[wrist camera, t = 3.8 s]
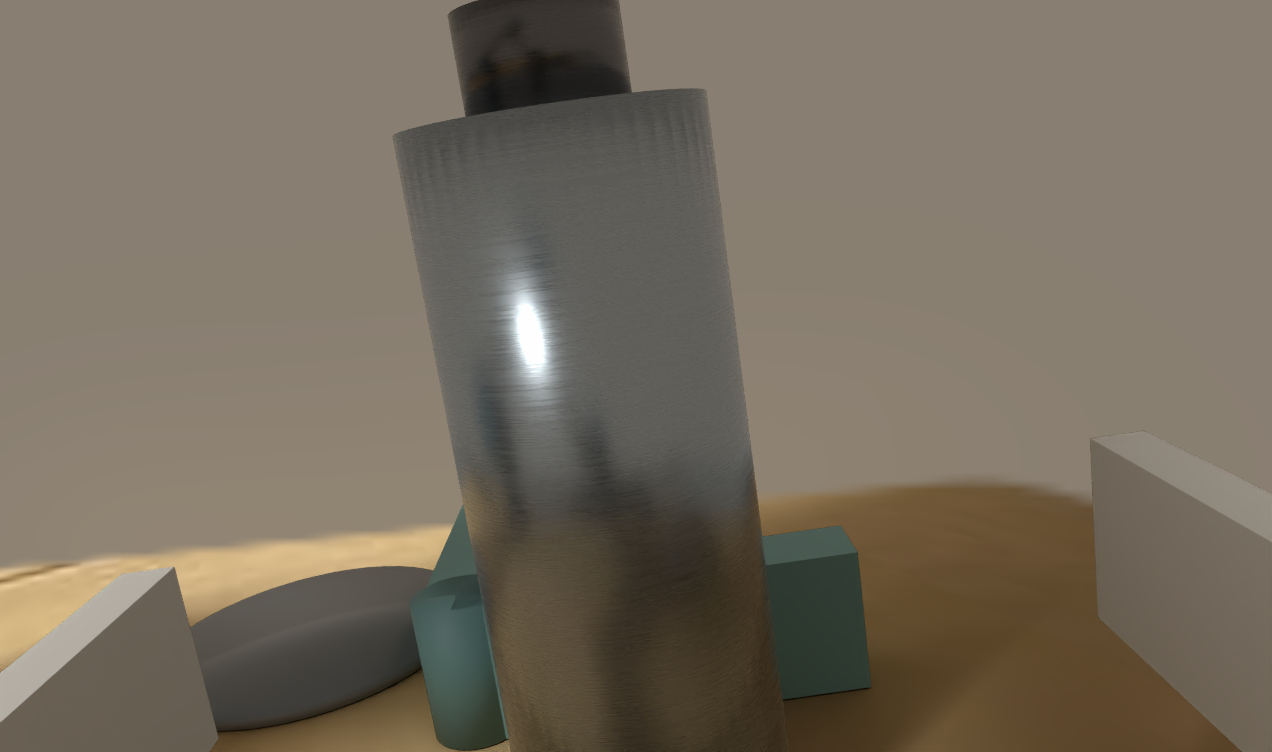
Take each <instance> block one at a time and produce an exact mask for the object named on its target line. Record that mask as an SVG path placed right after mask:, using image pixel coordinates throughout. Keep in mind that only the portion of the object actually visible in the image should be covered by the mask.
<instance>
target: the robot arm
mask: <svg viewBox="0 0 1272 752" xmlns="http://www.w3.org/2000/svg"><path fill="white" fill-rule="evenodd" d="M1090 448H1091V449H1090V450H1091V471H1092V472H1091V473H1092V495H1093V518H1094V540H1095V563H1096V585H1097V607H1098V618H1099V619H1100V620H1101V621H1102V622H1103V623H1105V624H1106V625H1107V626H1108V627H1109V628H1110V629H1111V630H1112V631H1113V632H1114V633H1115V634H1116V635H1117V636H1118V637H1120V638H1121V639H1122V640H1123V641H1124V642H1125V643H1126V644H1127V645H1128V646H1129V647H1130V648H1131V649H1132V650H1133V651H1135V652H1136V653H1137V654H1138V655H1139V656H1140V657H1141V658H1142V659H1143V660H1144V661H1145V662H1146V663H1147V664H1148V665H1149V666H1151V667H1152V668H1153V669H1154V670H1155V671H1156V672H1157V673H1158V674H1159V675H1160V676H1161V677H1162V678H1163V679H1164V680H1166V681H1167V682H1168V683H1169V684H1170V685H1171V686H1172V687H1173V688H1174V689H1175V690H1176V691H1177V692H1178V693H1179V694H1181V695H1182V696H1183V697H1184V698H1185V699H1186V700H1187V701H1188V702H1189V703H1190V704H1191V705H1192V706H1193V707H1194V708H1195V709H1197V710H1198V711H1199V712H1200V713H1201V714H1202V715H1203V716H1204V717H1205V718H1206V719H1207V720H1208V721H1209V722H1210V723H1212V724H1213V725H1214V726H1215V727H1216V728H1217V729H1218V730H1219V731H1220V732H1221V733H1222V734H1223V735H1224V736H1225V737H1227V738H1228V739H1229V740H1230V741H1231V742H1232V743H1233V744H1234V745H1235V746H1236V747H1237V748H1238V749H1239V750H1240V751H1241V752H1272V494H1270V493H1268V492H1266V491H1264V490H1262V489H1260V488H1258V487H1256V486H1254V485H1252V484H1250V483H1248V482H1246V481H1244V480H1242V479H1240V478H1238V477H1236V476H1234V475H1232V474H1230V473H1228V472H1226V471H1224V470H1222V469H1220V468H1218V467H1216V466H1214V465H1212V464H1210V463H1208V462H1206V461H1204V460H1202V459H1200V458H1198V457H1196V456H1194V455H1192V454H1190V453H1188V452H1186V451H1184V450H1182V449H1180V448H1178V447H1176V446H1174V445H1172V444H1169V443H1168V442H1166V441H1164V440H1162V439H1160V438H1158V437H1155V436H1154V435H1152V434H1150V433H1148V432H1146V431H1139V432H1131V433H1124V434H1117V435H1110V436H1103V437H1095V438H1090ZM218 739H219V738H218V734H217V730H216V726H215V723H214V719H213V715H212V711H211V707H210V703H209V699H208V695H207V691H206V688H205V684H204V680H203V676H202V672H201V668H200V664H199V660H198V657H197V653H196V649H195V645H194V641H193V637H192V633H191V629H190V626H189V622H188V618H187V614H186V610H185V606H184V602H183V598H182V594H181V591H180V587H179V583H178V579H177V575H176V571H175V567H168V568H161V569H154V570H147V571H140V572H133V573H126V574H121V575H120V576H119V577H117V578H116V579H115V580H114V581H112V582H111V583H110V584H109V585H108V586H106V587H105V588H104V589H103V590H101V591H100V592H99V593H98V594H97V595H95V596H94V597H93V598H92V599H90V600H89V601H88V602H87V603H85V604H84V605H83V606H82V607H81V608H79V609H78V610H77V611H76V612H74V613H73V614H72V615H71V616H70V617H68V618H67V619H66V620H65V621H63V622H62V623H61V624H60V625H58V626H57V627H56V628H55V629H54V630H52V631H51V632H50V633H49V634H47V635H46V636H45V637H44V638H43V639H41V640H40V641H39V642H38V643H36V644H35V645H34V646H33V647H31V648H30V649H29V650H28V651H27V652H25V653H24V654H23V655H22V656H20V657H19V658H18V659H17V660H15V661H14V662H13V663H12V664H11V665H9V666H8V667H7V668H6V669H4V670H3V671H2V672H1V673H0V752H210V750H211V749H212V747H213V746H214V745H215V743H216V742H217V740H218Z"/></svg>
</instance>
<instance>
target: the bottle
mask: <svg viewBox="0 0 1272 752" xmlns="http://www.w3.org/2000/svg"><path fill="white" fill-rule="evenodd" d="M448 20H449V25H450V31H451V37H452V43H453V49H454V54H455V60H456V66H457V71H458V77H459V82H460V88H461V93H462V100H463V105H464V110H465V116H466V117H463V118H458V119H452V120H447V121H443V122H438V123H433V124H429V125H424V126H420V127H416V128H412V129H408V130H405V131H402V132H399V133H396V134H394V135H393V142H394V147H395V152H396V157H397V162H398V167H399V173H400V178H401V183H402V188H403V193H404V198H405V204H406V209H407V214H408V219H409V225H410V230H411V235H412V240H413V245H414V251H415V256H416V261H417V266H418V271H419V276H420V282H421V286H422V292H423V297H424V302H425V307H426V313H427V318H428V323H429V328H430V334H431V338H432V344H433V349H434V354H435V359H436V365H437V370H438V375H439V380H440V385H441V391H442V396H443V401H444V406H445V411H446V416H447V422H448V427H449V432H450V437H451V442H452V448H453V453H454V458H455V463H456V468H457V474H458V479H459V484H460V489H461V494H462V499H463V505H464V510H465V515H466V520H467V525H468V531H469V536H470V541H471V546H472V551H473V557H474V562H475V567H476V572H477V577H478V582H479V588H480V593H481V598H482V603H483V608H484V614H485V619H486V624H487V629H488V634H489V640H490V645H491V650H492V655H493V660H494V665H495V671H496V676H497V681H498V686H499V691H500V697H501V702H502V707H503V712H504V717H505V723H506V728H507V733H508V738H509V743H510V748H511V752H789V745H788V737H787V729H786V721H785V713H784V705H783V697H782V689H781V681H780V673H779V665H778V657H777V650H776V642H775V634H774V626H773V618H772V610H771V602H770V594H769V586H768V578H767V570H766V562H765V554H764V546H763V538H762V530H761V522H760V514H759V506H758V498H757V490H756V483H755V475H754V467H753V459H752V451H751V443H750V435H749V427H748V419H747V412H746V403H745V395H744V387H743V379H742V371H741V363H740V355H739V348H738V339H737V332H736V325H735V316H734V308H733V300H732V292H731V284H730V276H729V268H728V260H727V252H726V244H725V236H724V228H723V220H722V212H721V205H720V196H719V188H718V180H717V172H716V165H715V156H714V149H713V141H712V133H711V125H710V117H709V109H708V101H707V94H706V90H704V89H692V88H690V89H668V90H655V91H644V92H634V93H632V90H631V83H630V76H629V69H628V62H627V55H626V48H625V41H624V34H623V27H622V20H621V13H620V5H619V0H478V1H474V2H471V3H468V4H465V5H463V6H460V7H458V8H456V9H454V10H453V11H451V12H450V13H449V14H448Z"/></svg>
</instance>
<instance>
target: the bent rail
mask: <svg viewBox="0 0 1272 752" xmlns="http://www.w3.org/2000/svg"><path fill="white" fill-rule="evenodd" d="M762 538H763V546H764V554H765V562H766V570H767V578H768V586H769V594H770V602H771V610H772V618H773V626H774V634H775V642H776V650H777V657H778V665H779V673H780V681H781V689H782V697H783V700H784V699H791V698H798V697H805V696H812V695H819V694H826V693H833V692H840V691H847V690H854V689H861V688H868V687H871V681H870V671H869V661H868V651H867V641H866V631H865V621H864V611H863V601H862V591H861V580H860V570H859V560H858V552H857V550H856V549H855V547H854V546H853V544H852V543H851V541H850V540H849V538H848V536H847V535H846V533H845V532H844V530H843V529H842V527H841V526H833V527H826V528H819V529H812V530H805V531H798V532H791V533H784V534H777V535H770V536H763V537H762ZM409 607H410V611H411V616H412V621H413V626H414V631H415V636H416V641H417V646H418V650H419V655H420V660H421V665H422V670H423V675H424V680H425V684H426V689H427V694H428V699H429V704H430V709H431V714H432V719H433V723H434V728H435V733H436V737H437V740H438V741H439V742H440V743H441V744H442V745H443V746H445V747H448V748H451V749H455V750H475V749H480V748H485V747H488V746H492V745H494V744H497V743H499V742H501V741H503V740H505V739H509V738H508V733H507V728H506V723H505V717H504V712H503V707H502V702H501V697H500V691H499V686H498V681H497V676H496V671H495V665H494V660H493V655H492V650H491V645H490V640H489V634H488V629H487V624H486V619H485V614H484V608H483V603H482V598H481V593H480V588H479V582H478V577H477V572H476V567H475V562H474V557H473V551H472V546H471V541H470V536H469V531H468V525H467V520H466V515H465V510H464V505H463V506H462V508H461V510H460V512H459V515H458V517H457V519H456V521H455V524H454V526H453V528H452V530H451V533H450V535H449V537H448V540H447V542H446V544H445V546H444V549H443V551H442V553H441V555H440V558H439V560H438V562H437V564H436V567H435V569H434V571H433V573H432V576H431V578H430V580H429V582H428V585H427V587H425V588H424V589H422V590H421V591H419V592H418V593H417V594H415V595H414V596H413V598H412V599H411V601H410V603H409Z"/></svg>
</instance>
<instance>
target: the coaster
mask: <svg viewBox="0 0 1272 752" xmlns="http://www.w3.org/2000/svg"><path fill="white" fill-rule="evenodd" d="M432 573H433V571H432V570H428V569H423V568H416V567H404V566H382V567H367V568H359V569H351V570H345V571H339V572H333V573H328V574H323V575H319V576H314V577H310V578H307V579H303V580H299V581H295V582H292V583H289V584H285V585H282V586H279V587H276V588H273V589H270V590H267V591H264V592H261V593H259V594H256V595H254V596H251V597H249V598H246V599H244V600H241V601H239V602H237V603H235V604H233V605H230V606H228V607H226V608H224V609H222V610H220V611H218V612H216V613H214V614H212V615H210V616H209V617H207V618H205V619H203V620H202V621H200V622H198V623H196V624H195V625H193V626H192V627H190V629H191V633H192V637H193V641H194V645H195V649H196V653H197V657H198V660H199V664H200V668H201V672H202V676H203V680H204V684H205V688H206V691H207V695H208V699H209V703H210V707H211V711H212V715H213V719H214V723H215V726H216V730H217V731H233V730H244V729H254V728H261V727H267V726H273V725H278V724H284V723H288V722H292V721H296V720H300V719H305V718H308V717H312V716H315V715H318V714H322V713H325V712H328V711H332V710H335V709H337V708H340V707H343V706H346V705H348V704H351V703H354V702H356V701H359V700H361V699H363V698H366V697H368V696H370V695H373V694H375V693H377V692H379V691H381V690H383V689H385V688H387V687H389V686H391V685H393V684H395V683H397V682H399V681H401V680H402V679H404V678H406V677H407V676H409V675H411V674H412V673H414V672H416V671H417V670H419V669H420V668H421V667H422V665H421V660H420V655H419V650H418V646H417V641H416V636H415V631H414V626H413V621H412V616H411V611H410V607H409V603H410V601H411V599H412V598H413V596H414V595H415V594H417V593H418V592H419V591H421V590H422V589H424V588H425V587H427V585H428V582H429V580H430V578H431V576H432Z"/></svg>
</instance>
